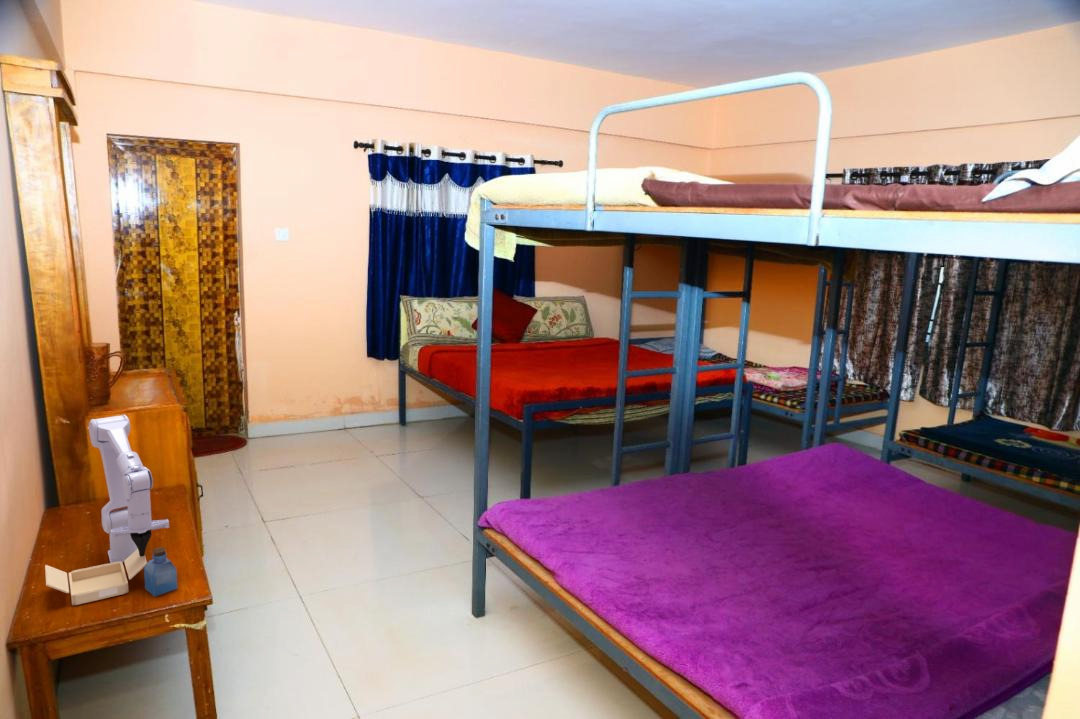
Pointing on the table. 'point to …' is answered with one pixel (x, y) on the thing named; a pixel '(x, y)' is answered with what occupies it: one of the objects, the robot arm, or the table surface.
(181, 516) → the table surface
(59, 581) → the flap
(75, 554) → the table surface
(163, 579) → the perfume bottle
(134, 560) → the flap
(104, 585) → the carton
